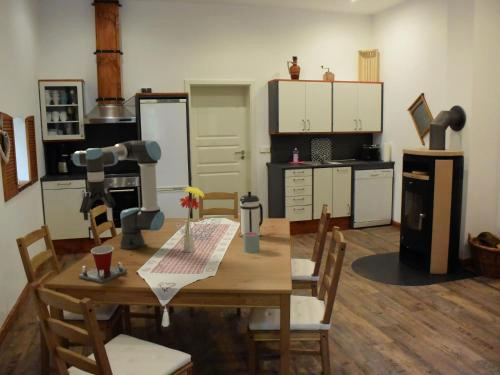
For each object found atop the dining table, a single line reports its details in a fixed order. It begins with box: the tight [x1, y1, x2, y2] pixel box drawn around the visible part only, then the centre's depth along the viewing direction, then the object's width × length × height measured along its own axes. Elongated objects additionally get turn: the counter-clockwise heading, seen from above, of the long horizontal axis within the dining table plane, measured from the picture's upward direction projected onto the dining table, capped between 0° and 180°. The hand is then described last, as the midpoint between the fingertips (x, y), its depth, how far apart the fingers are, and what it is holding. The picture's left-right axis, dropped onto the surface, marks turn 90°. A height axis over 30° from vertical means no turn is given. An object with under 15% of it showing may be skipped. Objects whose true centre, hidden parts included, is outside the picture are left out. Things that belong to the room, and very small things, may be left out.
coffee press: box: [238, 191, 264, 238], centre depth 277 cm, size 17×16×30 cm
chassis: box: [78, 261, 128, 284], centre depth 211 cm, size 16×16×6 cm
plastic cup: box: [90, 245, 115, 273], centre depth 211 cm, size 11×11×12 cm
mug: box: [242, 232, 261, 254], centre depth 248 cm, size 14×9×10 cm
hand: (99, 223), depth 207 cm, fingers open, 13 cm apart
